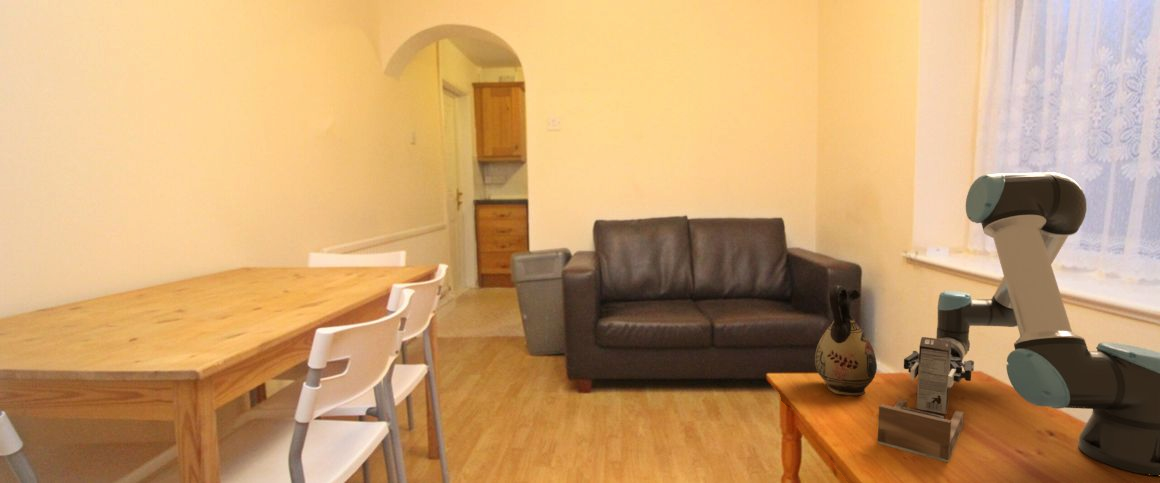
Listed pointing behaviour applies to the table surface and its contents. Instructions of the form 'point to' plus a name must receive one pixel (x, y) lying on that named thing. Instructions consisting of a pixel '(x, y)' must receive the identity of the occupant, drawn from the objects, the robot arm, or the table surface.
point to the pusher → (923, 412)
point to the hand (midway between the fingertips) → (930, 378)
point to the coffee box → (933, 374)
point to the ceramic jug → (845, 349)
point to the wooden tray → (918, 431)
